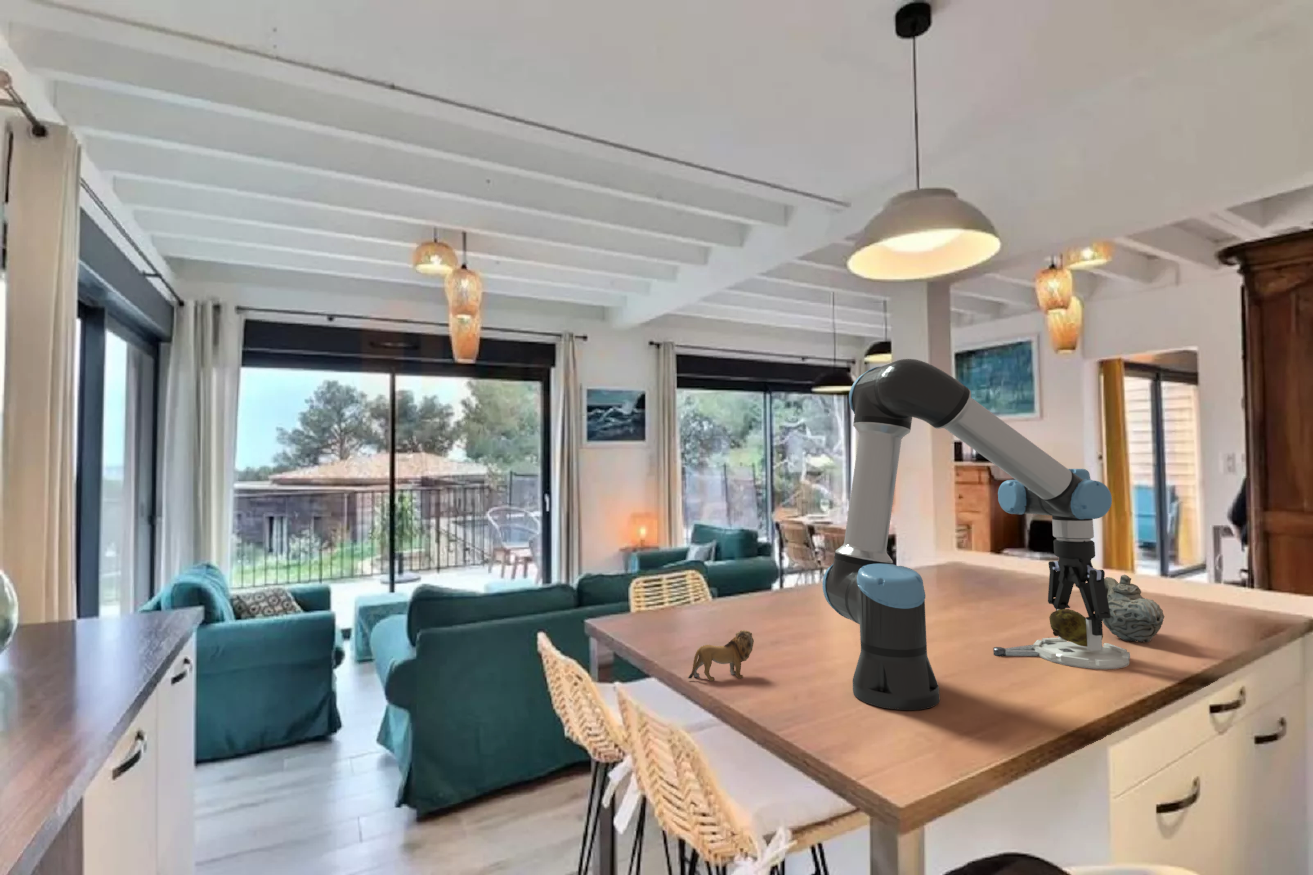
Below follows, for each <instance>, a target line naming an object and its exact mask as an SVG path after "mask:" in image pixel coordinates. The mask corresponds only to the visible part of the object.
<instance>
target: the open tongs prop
mask: <svg viewBox="0 0 1313 875" xmlns="http://www.w3.org/2000/svg"><path fill="white" fill-rule="evenodd" d="M1042 643H1043V644H1046V643H1048V642H1043V641H1042ZM1052 644H1055V643H1053V642H1052ZM1052 644H1049V643H1048V644H1047V645H1052ZM1059 650H1061V651H1062V650H1063V652H1067V651H1069V652H1073V650H1071V649H1068V650H1067V649H1066V648H1065V649H1064V648H1062V649H1061V648H1060V649H1059ZM1064 650H1065V651H1064ZM992 651H993V656H996V657H1039V653H1038V652H1037V651H1035V649H1033V644H1028V645H1021V646H1014V647H1013V646H1012V647H1001V646H994V647H992Z"/></svg>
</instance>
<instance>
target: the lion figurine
mask: <svg viewBox="0 0 1313 875" xmlns="http://www.w3.org/2000/svg"><path fill="white" fill-rule="evenodd" d="M754 640H755V639H754V638H753V633H752V632H750V631H749V630H745V629H741V630H740V631H737V632H736V633H735V636H734V637H733V638H732V639H731V640H730V641H728V643H726V644H724V645H712V644H705V645H702V646H700V647H699V648H698V649H697V651H695V655H694V658H693V664H692V670H691V672H690V674H689V675H688V677H687V679H689V680H691V679H692V678H693V677H695V678H699V677H700V673H698V672H697V671H698V669H700V668H701V667H702V666H704V672H703V673H704V675H705V677H706V678H707V680H708V681H711V682H713V681H715V680H716V679H715V677H714V676H712V675H711V674H710V670H711V666H712V663H713V662H715V663H716V664H719V665H727V664H728V665H729V673H730V674H731V675H733V676H734V675H736V678H737V679H743V678H744V675H743V674H741V669H742V663H743V662H746V661H747V660H749V658H750V656H751V653H752V652H753V647H754V643H755V642H754Z"/></svg>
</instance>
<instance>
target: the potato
mask: <svg viewBox="0 0 1313 875" xmlns="http://www.w3.org/2000/svg"><path fill="white" fill-rule="evenodd" d="M1069 609H1070V608H1065V609H1060V610H1056V609H1055V610H1054V611H1052V612H1051V613H1050V615H1049V617H1048V618H1049V624H1050V628H1051V630H1052V631H1053V632H1052V635H1053V636H1055V637H1058V636H1059V637H1061V638H1062V639H1064V640H1066V641H1067V642H1073V643H1075V644H1077V645H1080V646H1086V647H1087V632H1086V616H1084V615H1083V614H1081V612H1078V611H1075V610H1073V609H1070V610H1069ZM1103 638H1104V633H1103V634H1102V639H1103Z"/></svg>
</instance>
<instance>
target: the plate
mask: <svg viewBox="0 0 1313 875" xmlns="http://www.w3.org/2000/svg"><path fill="white" fill-rule="evenodd" d="M1042 641H1043V642H1048V643H1049V644H1052V642H1053V643H1055V644H1052V645H1047V644H1048V643H1046V644H1043V643H1042ZM1032 645H1033V649H1035V651H1037V652H1038V653H1039V656H1038V657H1039V658H1042V659H1044V660H1045V661H1049V662H1051V663H1055V664H1059V665H1062V666H1069V667H1073V668H1079V669H1080V668H1081V669H1090V670H1117V669H1122V668H1126V667H1128V666H1129V665H1130V659H1131V652H1130V651H1127V650H1128V649H1126V648H1123V647H1120V646H1117V645H1114V644H1113V643H1112V644H1111V643H1108V642H1104V643H1103V642H1102V650H1097V651H1089V650H1088V649H1087V647H1086V646H1080V645H1077V644H1075V643H1073V642H1070V641H1066V640H1064V639H1063V640H1060V639H1058V637H1041V639H1036V641H1035V642H1034V643H1032ZM1060 648H1061V649H1062V648H1064V649H1065V648H1066V649H1067V650H1068V649H1071V650H1073V652H1069V651H1067V652H1063V650H1062V651H1061V650H1059V649H1060ZM1064 651H1065V650H1064Z"/></svg>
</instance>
